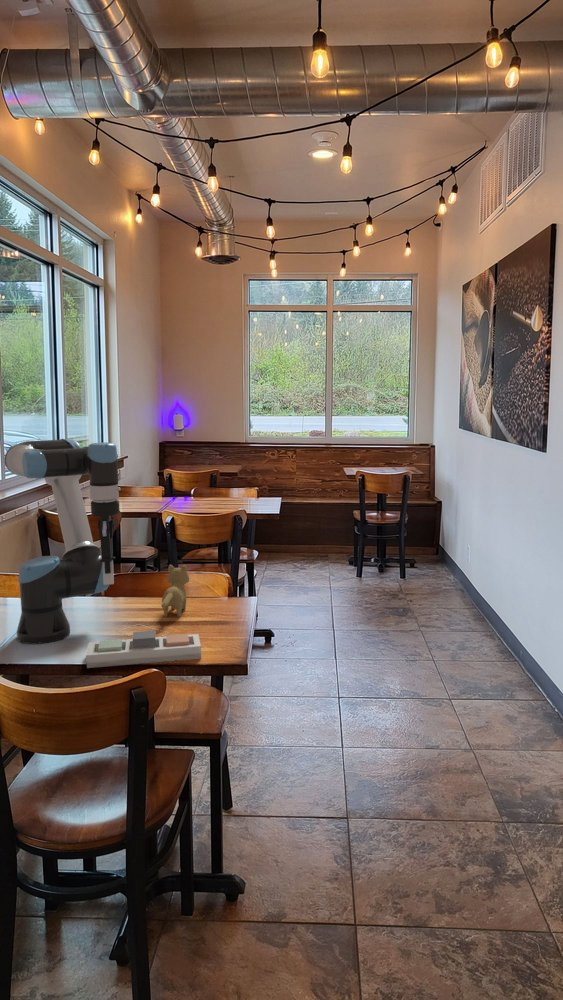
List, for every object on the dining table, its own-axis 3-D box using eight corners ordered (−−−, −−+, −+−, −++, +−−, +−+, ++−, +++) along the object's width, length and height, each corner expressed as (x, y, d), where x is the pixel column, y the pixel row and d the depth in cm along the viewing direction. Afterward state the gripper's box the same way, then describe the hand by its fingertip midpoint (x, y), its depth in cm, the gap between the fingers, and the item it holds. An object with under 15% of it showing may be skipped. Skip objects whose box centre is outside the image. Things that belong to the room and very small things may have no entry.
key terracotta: (167, 651, 189) (166, 643, 189) (166, 643, 195) (166, 635, 194) (189, 649, 190) (189, 641, 190) (188, 642, 196) (187, 633, 196)
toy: (193, 604, 239) (191, 561, 237) (175, 627, 215) (173, 580, 213) (172, 603, 240) (170, 561, 237) (152, 627, 216) (150, 579, 213)
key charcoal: (132, 647, 187) (132, 639, 187) (133, 640, 193) (133, 632, 193) (155, 646, 188) (155, 637, 188) (155, 638, 194) (155, 630, 194)
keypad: (86, 668, 184) (86, 655, 183) (90, 654, 193) (89, 642, 193) (201, 658, 189) (200, 646, 188) (198, 645, 199) (198, 633, 198)
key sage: (98, 657, 186) (98, 648, 185) (100, 649, 192) (99, 640, 191) (121, 655, 187) (121, 646, 186) (122, 647, 193) (122, 639, 192)
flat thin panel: (148, 641, 203) (115, 631, 212) (148, 642, 203) (115, 633, 212) (170, 633, 210) (137, 623, 219) (170, 634, 210) (138, 625, 219)
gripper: (117, 503, 184) (121, 589, 188) (120, 495, 196) (123, 576, 200) (88, 504, 183) (92, 591, 187) (93, 496, 195) (97, 577, 199)
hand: (108, 583), depth 194 cm, fingers closed
